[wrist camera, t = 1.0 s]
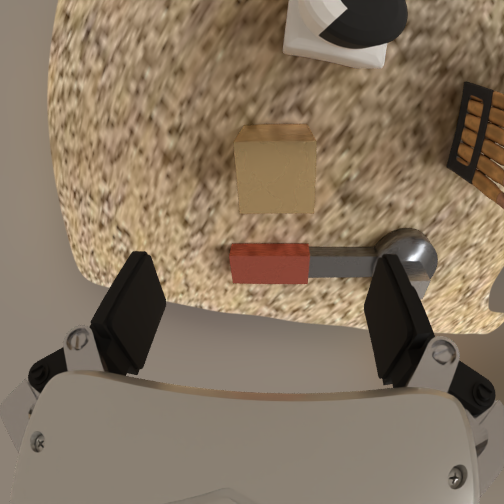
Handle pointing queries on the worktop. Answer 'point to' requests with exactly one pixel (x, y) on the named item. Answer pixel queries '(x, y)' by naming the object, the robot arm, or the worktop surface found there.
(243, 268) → the ratchet
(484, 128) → the ammunition clip
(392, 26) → the medicine bottle
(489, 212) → the worktop surface
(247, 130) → the wooden block
